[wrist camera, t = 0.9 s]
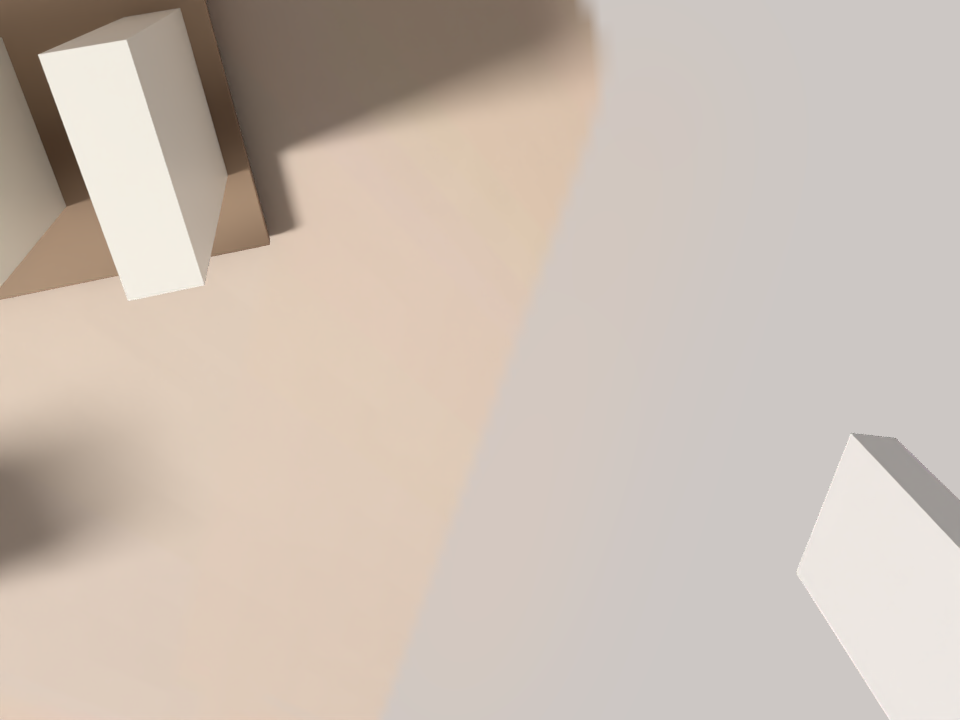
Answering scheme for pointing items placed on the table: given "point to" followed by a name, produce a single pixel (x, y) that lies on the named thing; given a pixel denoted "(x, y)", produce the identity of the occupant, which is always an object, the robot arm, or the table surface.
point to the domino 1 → (22, 175)
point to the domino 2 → (143, 147)
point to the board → (76, 232)
